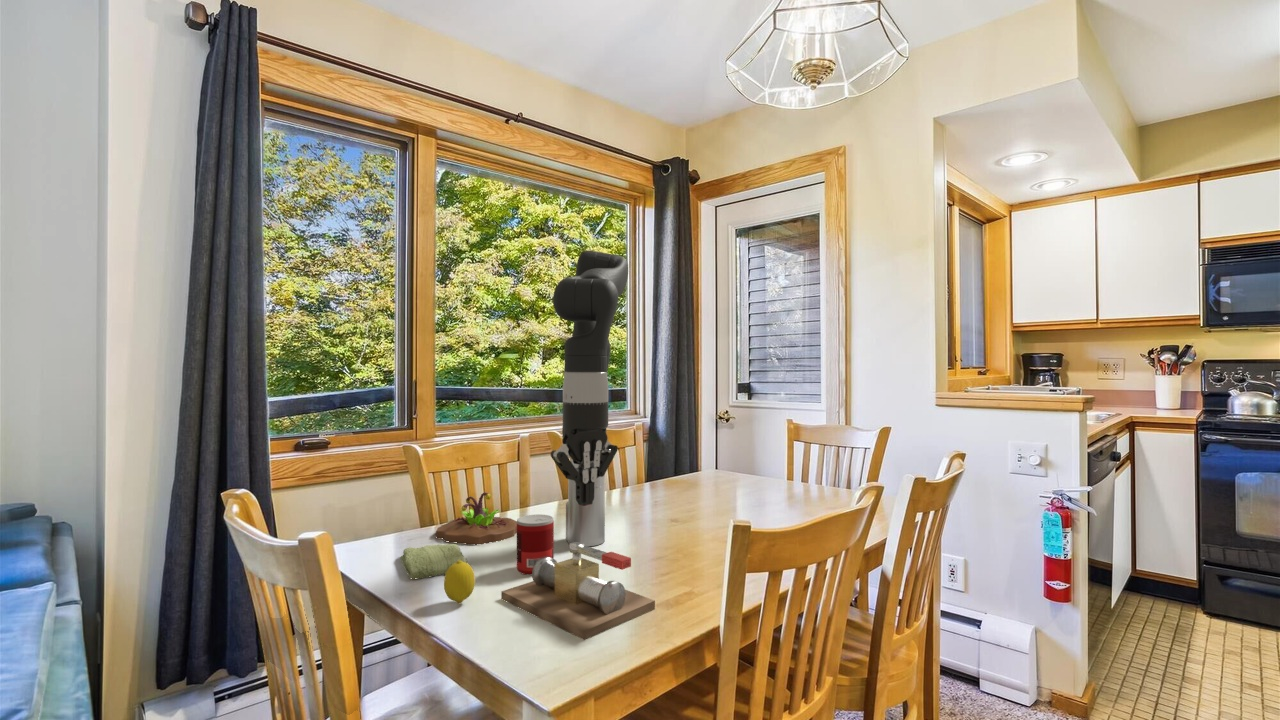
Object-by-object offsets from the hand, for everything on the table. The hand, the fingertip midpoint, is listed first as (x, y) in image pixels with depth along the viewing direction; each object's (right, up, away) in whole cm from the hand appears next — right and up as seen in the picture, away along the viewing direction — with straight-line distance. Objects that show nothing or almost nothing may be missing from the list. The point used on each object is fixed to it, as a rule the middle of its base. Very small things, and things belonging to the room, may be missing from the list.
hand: (585, 504), depth 97 cm
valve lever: (+1, -12, +9) cm, 15 cm away
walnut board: (-3, -22, +13) cm, 25 cm away
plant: (-33, -23, +59) cm, 71 cm away
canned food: (-14, -22, +32) cm, 41 cm away
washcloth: (-37, -23, +35) cm, 55 cm away
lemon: (-25, -22, +13) cm, 35 cm away
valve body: (-3, -22, +13) cm, 25 cm away
